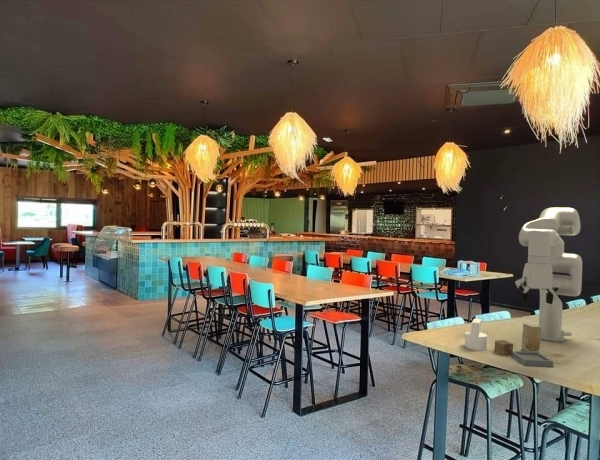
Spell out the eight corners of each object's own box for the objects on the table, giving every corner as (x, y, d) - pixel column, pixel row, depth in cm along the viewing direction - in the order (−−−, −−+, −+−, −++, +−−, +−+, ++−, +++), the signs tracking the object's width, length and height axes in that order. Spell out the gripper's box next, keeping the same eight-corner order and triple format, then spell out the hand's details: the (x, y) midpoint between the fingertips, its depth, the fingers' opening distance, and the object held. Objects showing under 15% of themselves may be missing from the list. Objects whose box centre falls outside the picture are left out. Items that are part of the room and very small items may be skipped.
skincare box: (521, 349, 177) (522, 322, 177) (530, 349, 177) (531, 322, 177) (530, 354, 171) (531, 326, 170) (540, 354, 171) (541, 326, 171)
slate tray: (537, 357, 168) (537, 352, 167) (553, 366, 157) (553, 361, 156) (511, 356, 168) (511, 351, 168) (524, 365, 157) (525, 360, 157)
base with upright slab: (485, 352, 173) (486, 324, 172) (463, 347, 177) (464, 321, 177) (488, 346, 180) (489, 320, 180) (466, 343, 185) (467, 317, 185)
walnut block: (504, 351, 174) (504, 340, 174) (512, 355, 170) (513, 343, 169) (494, 351, 173) (494, 340, 173) (502, 355, 168) (503, 344, 168)
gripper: (555, 260, 163) (553, 301, 163) (512, 258, 164) (510, 300, 164) (566, 262, 155) (564, 305, 156) (521, 260, 156) (519, 304, 156)
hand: (536, 303), depth 160 cm, fingers open, 9 cm apart
